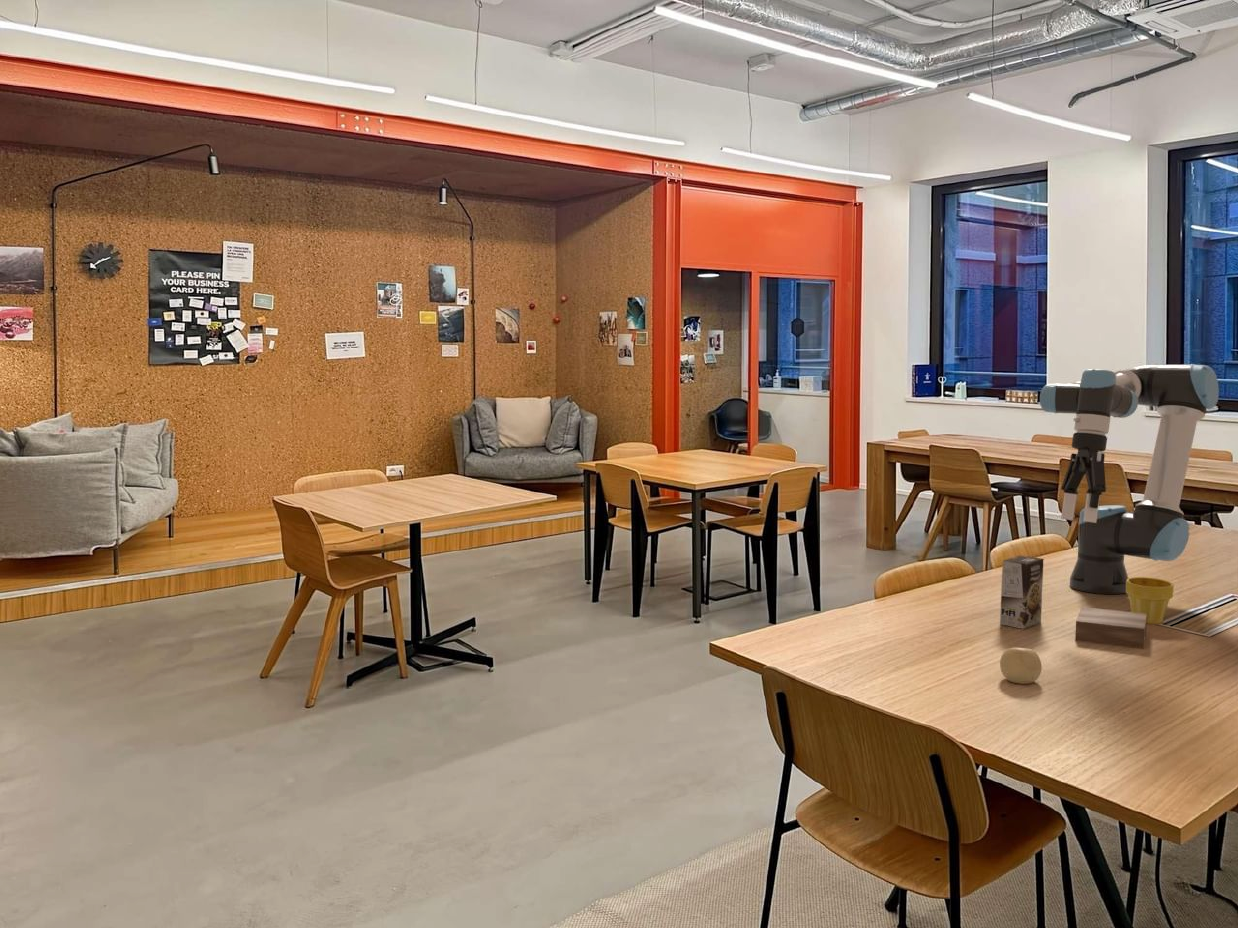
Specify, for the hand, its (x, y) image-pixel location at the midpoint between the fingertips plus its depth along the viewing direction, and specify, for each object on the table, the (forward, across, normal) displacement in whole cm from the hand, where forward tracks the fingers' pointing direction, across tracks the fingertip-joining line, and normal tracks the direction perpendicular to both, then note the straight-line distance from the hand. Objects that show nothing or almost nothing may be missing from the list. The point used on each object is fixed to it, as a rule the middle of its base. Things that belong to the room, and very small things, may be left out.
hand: (1077, 520), depth 239 cm
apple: (+35, +37, -22) cm, 56 cm away
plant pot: (+22, -7, +23) cm, 33 cm away
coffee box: (+27, -4, -8) cm, 29 cm away
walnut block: (+26, +6, +9) cm, 28 cm away
